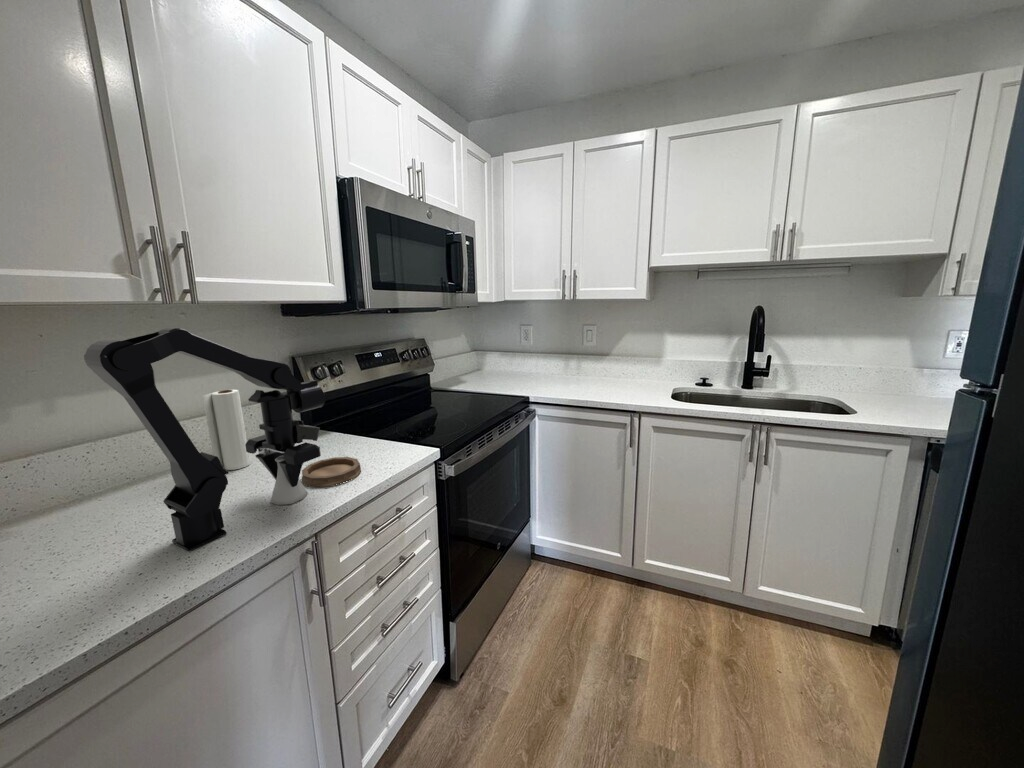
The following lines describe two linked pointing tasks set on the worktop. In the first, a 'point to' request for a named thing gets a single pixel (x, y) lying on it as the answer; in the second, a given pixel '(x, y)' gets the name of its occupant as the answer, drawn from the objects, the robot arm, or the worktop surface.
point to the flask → (286, 488)
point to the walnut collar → (330, 471)
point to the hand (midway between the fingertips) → (287, 484)
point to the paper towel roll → (227, 428)
